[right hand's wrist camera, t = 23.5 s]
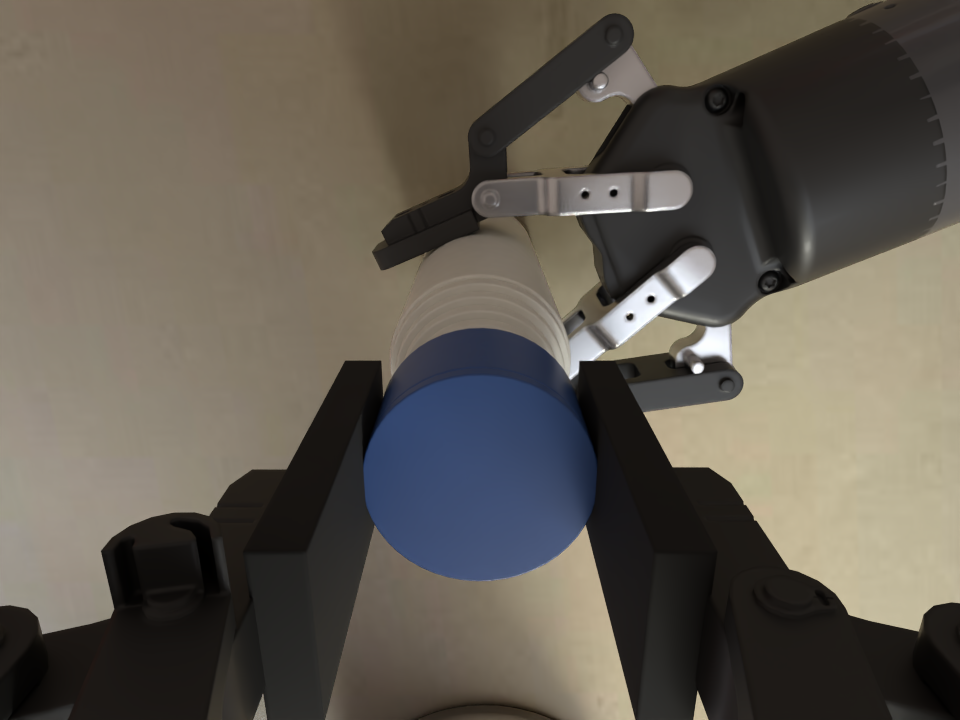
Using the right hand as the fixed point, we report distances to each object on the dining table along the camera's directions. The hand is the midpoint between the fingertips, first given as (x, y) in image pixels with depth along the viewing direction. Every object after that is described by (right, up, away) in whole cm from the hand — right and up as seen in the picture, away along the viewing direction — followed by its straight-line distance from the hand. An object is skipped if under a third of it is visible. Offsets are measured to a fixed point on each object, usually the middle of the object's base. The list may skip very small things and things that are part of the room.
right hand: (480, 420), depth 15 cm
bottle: (0, +6, +16) cm, 17 cm away
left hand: (-2, +3, +10) cm, 11 cm away
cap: (0, -1, -2) cm, 2 cm away
